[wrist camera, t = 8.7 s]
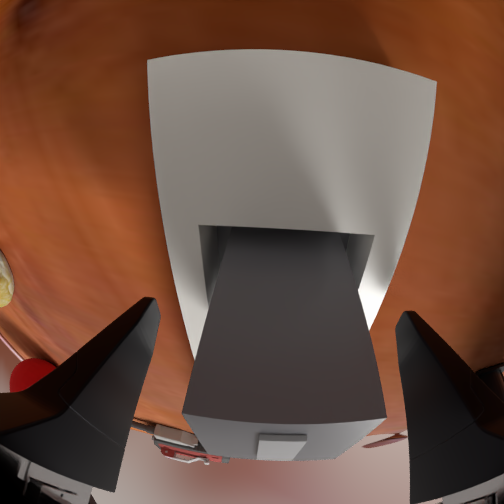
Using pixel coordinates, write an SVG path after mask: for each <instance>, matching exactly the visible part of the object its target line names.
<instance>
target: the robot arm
mask: <svg viewBox="0 0 504 504" xmlns="http://www.w3.org/2000/svg"><path fill="white" fill-rule="evenodd" d="M160 317H161V315H160V311H159V308H158V304H157V301H156V299H155V298H152V297H143V298H142V299H141V300H139V301H138V302H137V303H136V304H134V305H133V306H132V307H131V308H129V309H128V310H127V311H126V312H124V313H123V314H122V315H121V316H119V317H118V318H117V319H116V320H114V321H113V322H112V323H111V324H109V325H108V326H107V327H106V328H105V329H103V330H102V331H101V332H100V333H98V334H97V335H96V336H95V337H94V338H92V339H91V340H90V341H89V342H88V343H86V344H85V345H84V346H83V347H81V348H80V349H79V350H78V351H77V352H75V353H74V354H73V355H72V356H71V357H69V358H68V359H67V360H66V361H65V362H63V363H62V364H61V365H60V366H58V367H57V368H55V369H54V370H53V371H51V372H50V373H49V374H47V375H46V376H44V377H43V378H41V379H40V380H39V381H37V382H36V383H34V384H33V385H31V386H30V387H28V388H27V389H25V390H22V391H19V392H10V393H0V504H96V502H95V500H94V498H93V497H92V495H91V491H92V487H96V488H99V489H103V490H106V491H110V492H115V489H116V485H117V480H118V476H119V471H120V467H121V462H122V458H123V455H124V451H125V449H124V448H125V446H126V442H127V439H128V435H129V431H130V427H131V424H132V420H133V417H134V413H135V410H136V406H137V403H138V399H139V396H140V393H141V390H142V386H143V383H144V380H145V377H146V374H147V370H148V367H149V364H150V361H151V358H152V355H153V350H154V346H155V341H156V336H157V332H158V327H159V323H160ZM395 332H396V341H397V352H398V363H399V371H400V377H401V383H402V389H403V396H404V403H405V411H406V420H407V430H408V441H409V457H410V504H417V503H421V502H426V501H430V500H434V499H438V498H441V497H442V499H443V501H442V502H439V503H437V504H504V376H503V374H502V372H503V371H504V363H503V364H500V365H497V366H494V367H491V368H487V369H484V370H481V371H479V372H477V373H476V374H475V373H474V372H473V370H471V368H470V367H469V366H468V365H467V364H466V363H465V362H464V361H463V360H462V359H461V357H460V356H459V355H458V354H457V353H456V352H455V351H454V350H453V349H452V348H451V347H450V346H449V345H448V344H447V343H446V342H445V341H444V340H443V339H442V338H441V337H440V336H439V335H438V334H437V333H436V332H435V331H434V330H433V329H432V328H431V327H430V326H429V325H428V324H427V323H426V322H425V321H424V320H423V319H422V318H421V317H420V316H419V315H418V314H417V313H416V312H415V311H404V312H403V313H402V315H401V317H400V319H399V321H398V323H397V325H396V329H395Z"/></svg>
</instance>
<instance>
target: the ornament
mask: <svg viewBox="0 0 504 504" xmlns="http://www.w3.org/2000/svg"><path fill="white" fill-rule="evenodd" d="M55 368H56V367H55V366H54V365H53V364H51V363H49V362H47V361H45V360H42V359H38V358H31V359H26V360H24V361H22V362H20V363H19V364H18V365H17V366H16V367H15V368H14V370H13V372H12V374H11V378H10V392H19V391H22V390H25V389H27V388H28V387H30V386H31V385H33V384H34V383H36V382H37V381H39V380H40V379H41V378H43V377H44V376H46V375H47V374H49V373H50V372H51V371H53V370H54V369H55Z"/></svg>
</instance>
